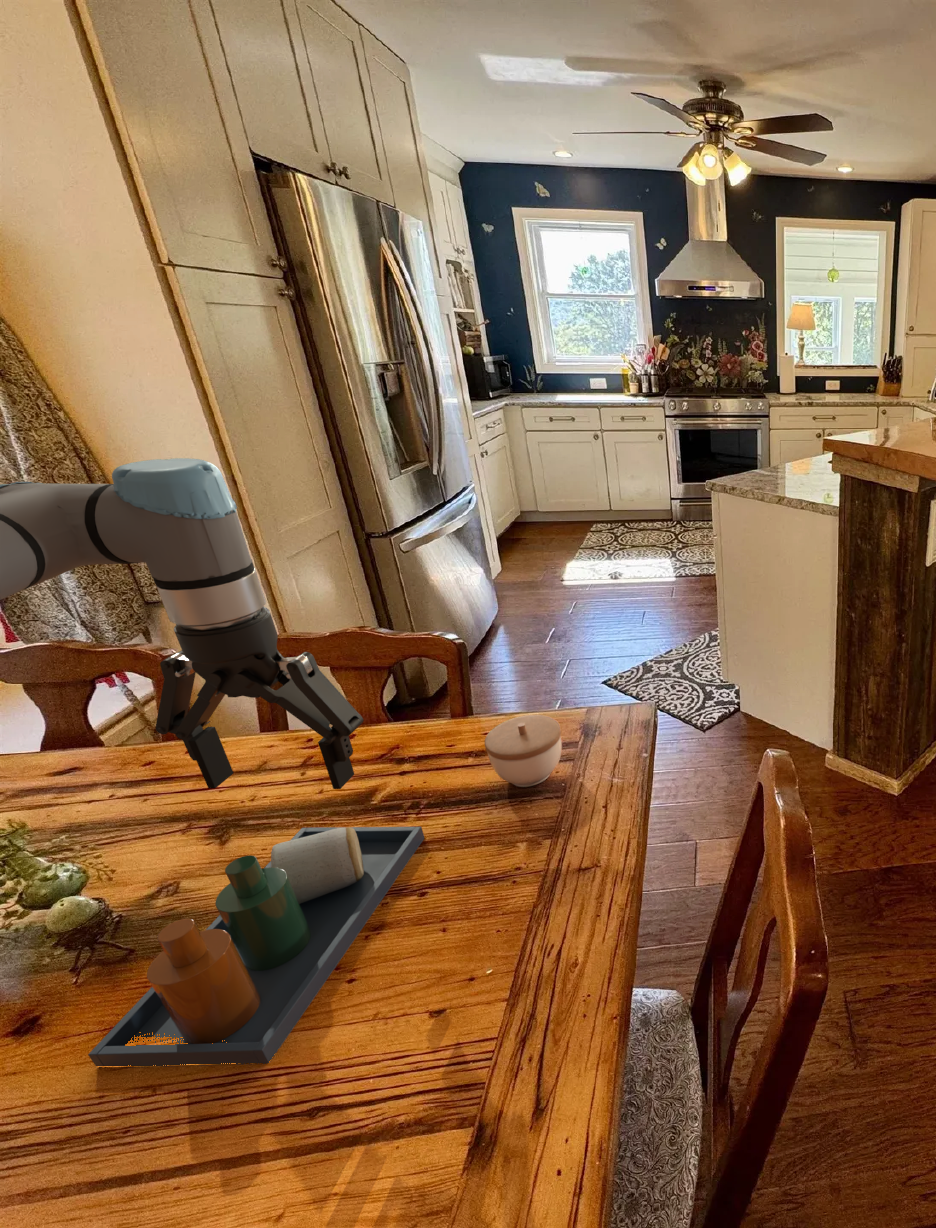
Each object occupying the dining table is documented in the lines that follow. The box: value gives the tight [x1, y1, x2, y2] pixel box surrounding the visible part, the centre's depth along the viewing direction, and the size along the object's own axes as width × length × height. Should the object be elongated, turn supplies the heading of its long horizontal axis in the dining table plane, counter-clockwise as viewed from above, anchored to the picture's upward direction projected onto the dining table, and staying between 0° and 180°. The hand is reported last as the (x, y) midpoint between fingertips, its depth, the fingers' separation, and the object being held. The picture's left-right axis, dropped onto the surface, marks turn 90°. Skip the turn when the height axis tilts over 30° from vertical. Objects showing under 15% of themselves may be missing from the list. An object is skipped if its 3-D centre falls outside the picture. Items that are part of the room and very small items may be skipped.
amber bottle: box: [146, 918, 260, 1044], centre depth 64 cm, size 6×6×12 cm
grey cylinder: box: [270, 826, 364, 904], centre depth 81 cm, size 11×8×8 cm
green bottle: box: [214, 854, 311, 971], centre depth 71 cm, size 6×6×12 cm
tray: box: [87, 826, 425, 1067], centre depth 75 cm, size 16×30×3 cm, turn 3°
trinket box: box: [484, 714, 563, 788], centre depth 101 cm, size 11×11×9 cm
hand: (283, 781), depth 75 cm, fingers open, 13 cm apart
